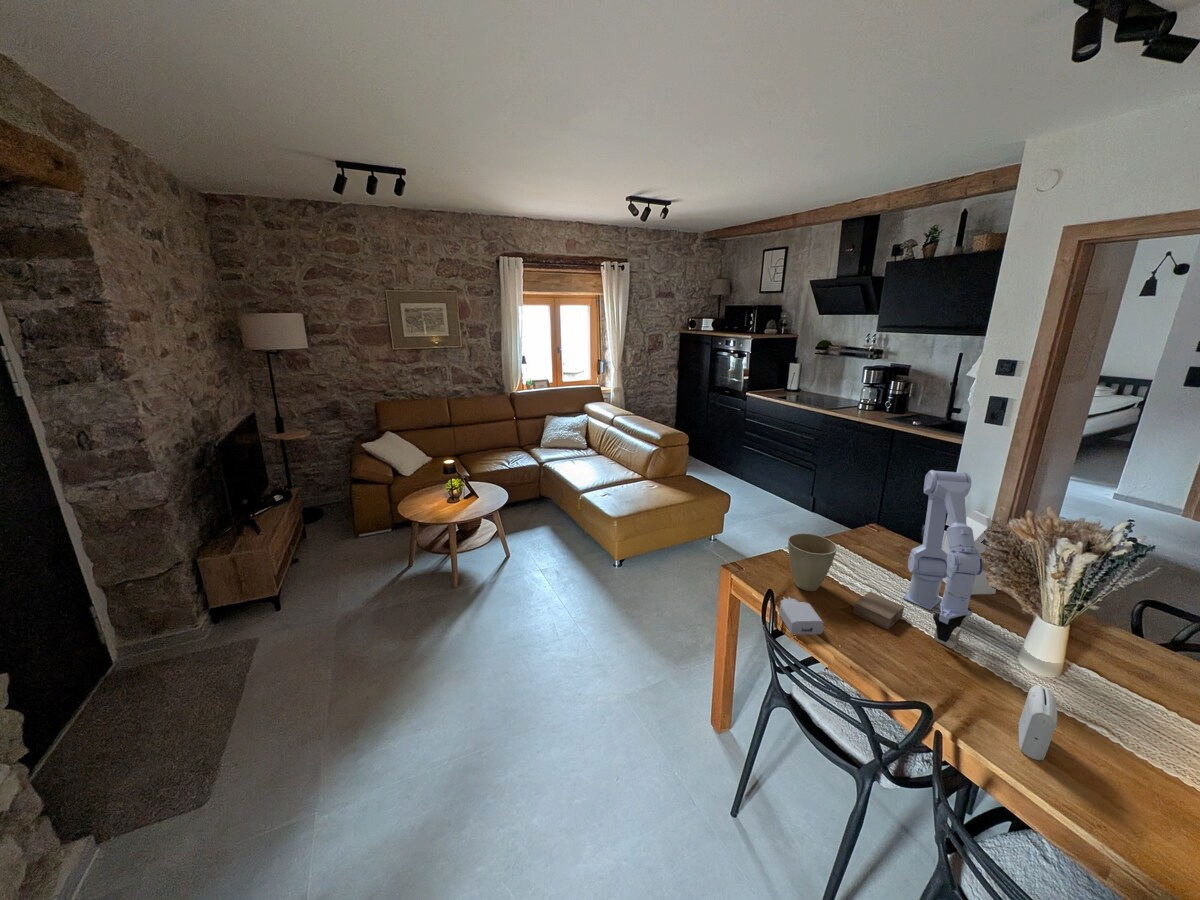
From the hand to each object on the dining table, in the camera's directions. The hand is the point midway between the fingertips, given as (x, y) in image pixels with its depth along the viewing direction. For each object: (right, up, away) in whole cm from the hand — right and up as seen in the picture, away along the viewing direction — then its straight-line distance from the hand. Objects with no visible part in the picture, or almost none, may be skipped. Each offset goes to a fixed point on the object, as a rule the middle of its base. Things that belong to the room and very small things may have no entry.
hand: (947, 634), depth 130 cm
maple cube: (0, -2, +1) cm, 2 cm away
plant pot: (-27, +6, +28) cm, 39 cm away
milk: (+26, +6, +28) cm, 39 cm away
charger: (-38, 0, +11) cm, 40 cm away
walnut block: (-13, +1, +12) cm, 18 cm away
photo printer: (-5, -11, -30) cm, 33 cm away
